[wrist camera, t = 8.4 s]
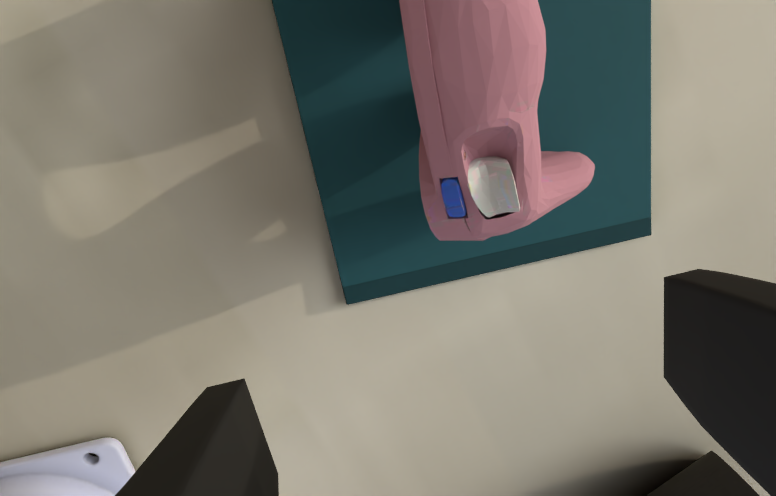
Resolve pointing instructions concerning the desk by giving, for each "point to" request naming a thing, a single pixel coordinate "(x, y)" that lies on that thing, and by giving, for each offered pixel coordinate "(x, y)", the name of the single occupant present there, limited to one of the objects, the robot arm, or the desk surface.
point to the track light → (706, 480)
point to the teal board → (402, 132)
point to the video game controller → (483, 117)
